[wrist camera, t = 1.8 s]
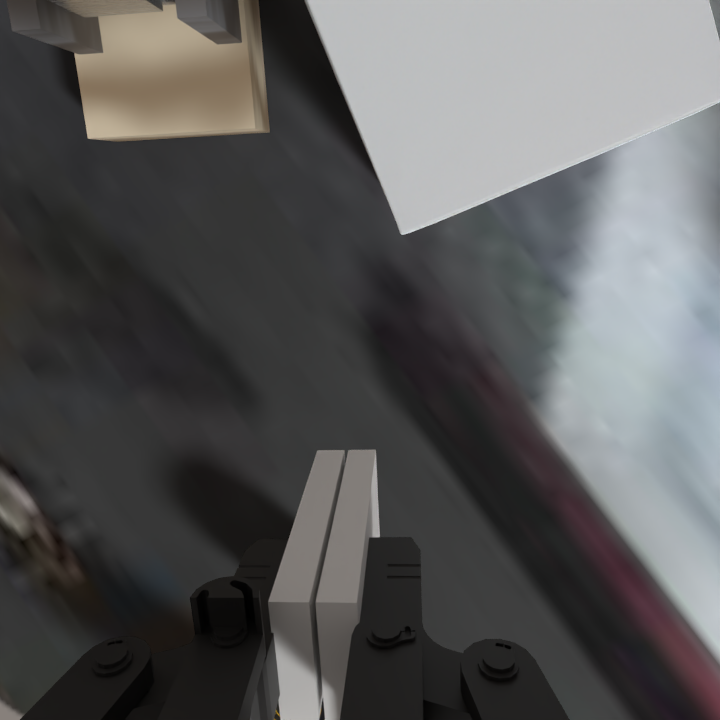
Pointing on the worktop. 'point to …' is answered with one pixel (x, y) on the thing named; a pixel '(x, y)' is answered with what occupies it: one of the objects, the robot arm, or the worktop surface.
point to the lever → (112, 6)
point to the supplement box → (509, 87)
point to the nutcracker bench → (161, 67)
